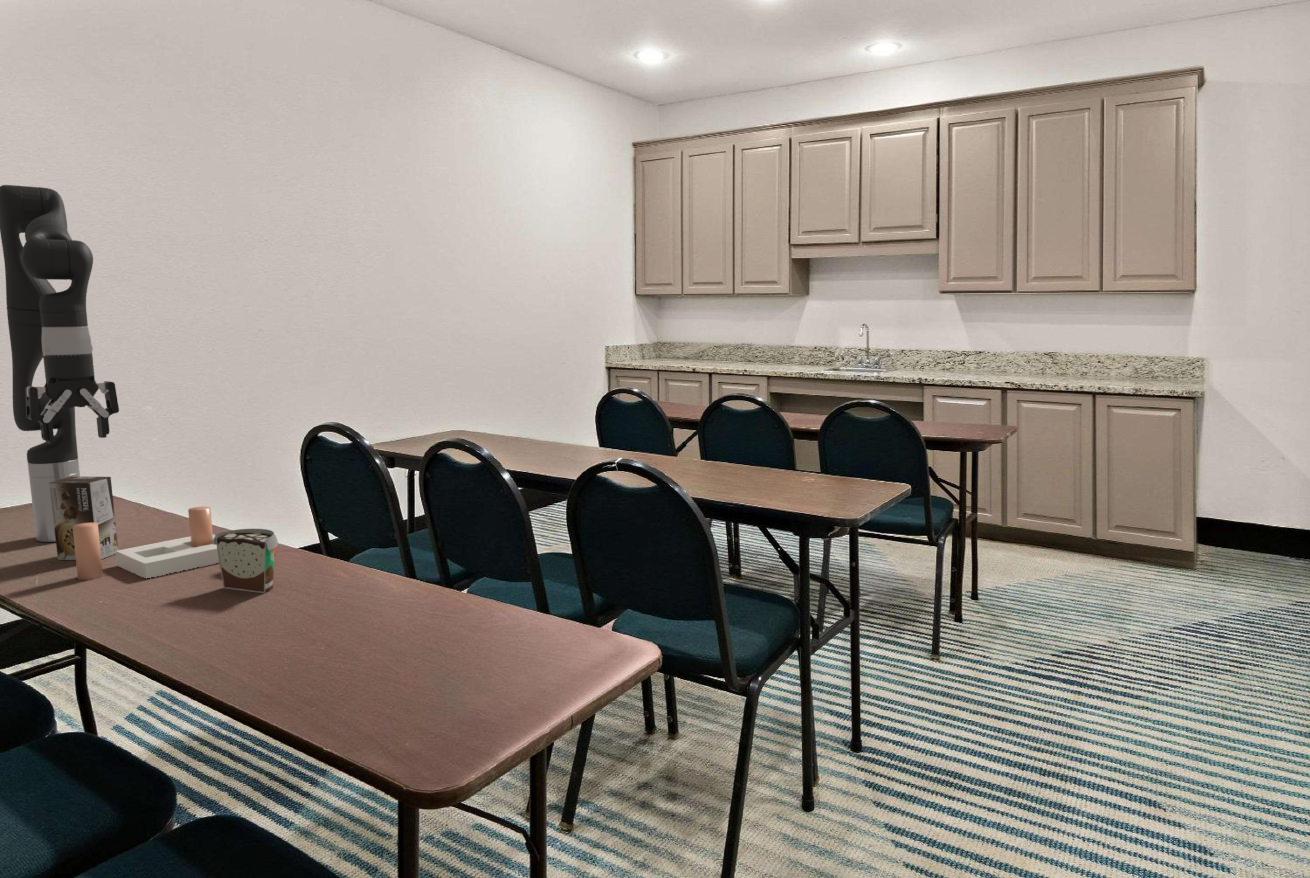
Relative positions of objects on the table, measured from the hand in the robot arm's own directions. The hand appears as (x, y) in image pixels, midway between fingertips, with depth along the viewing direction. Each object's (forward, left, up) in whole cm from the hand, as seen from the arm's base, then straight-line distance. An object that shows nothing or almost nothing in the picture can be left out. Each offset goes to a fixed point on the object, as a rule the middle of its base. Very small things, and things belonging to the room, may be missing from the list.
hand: (76, 440), depth 164 cm
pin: (0, 0, -26) cm, 26 cm away
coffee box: (-16, +5, -26) cm, 31 cm away
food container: (+30, +17, -26) cm, 43 cm away
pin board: (+3, +15, -26) cm, 30 cm away
